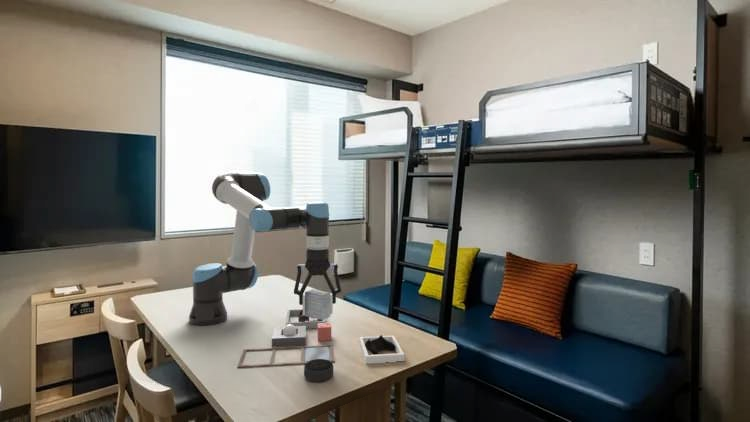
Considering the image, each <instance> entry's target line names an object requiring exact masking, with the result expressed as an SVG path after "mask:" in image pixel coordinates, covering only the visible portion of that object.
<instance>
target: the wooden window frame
mask: <svg viewBox="0 0 750 422" xmlns="http://www.w3.org/2000/svg"><path fill="white" fill-rule="evenodd" d="M295 349H296V350H297V349H300V352H301V354H300V357H301V358H300V361H294V362H293V361H292V362H274V361H275V355H276V351H278V350H279V351H280V350H295ZM259 351H261V352H262V351H271V354H270V355H271V356H270V361H269V363H259V364H258V363H257V364H245V365H244V364H243V363H244V359H245V356H246V353H247V352H259ZM315 359H325V360H328V361H330V362H332V364H333V363H335V360H336V359H335V354H334V349H333V344H324V345H323V344H322V345H320V344H319V345H297V346H278V347H264V348H262V347H261V348H244V349H243V350H242V353H241V356H240V358H239V362H238V364H237V369H243V368H245V369H246V368H247V369H248V368H259V367H260V368H261V367H262V368H263V367H279V366H294V365H295V366H297V365H305V364H306V363H307V362H309V361H311V360H315Z"/></svg>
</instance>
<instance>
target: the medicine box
mask: <svg viewBox="0 0 750 422" xmlns="http://www.w3.org/2000/svg"><path fill="white" fill-rule="evenodd" d="M330 293H331V291H330V292H329V291H324V290H319V289H314V288H313V289H309V290H307V291H304V294H305V316H307V317H309V318H311V317H312V318H311V319H320V320H324V319H325V320H326V319H328V318H330V317H331V314H330Z"/></svg>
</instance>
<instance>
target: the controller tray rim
mask: <svg viewBox="0 0 750 422" xmlns="http://www.w3.org/2000/svg"><path fill="white" fill-rule="evenodd" d="M380 336H381V335H379V336H378V335H377V336H359V338H358V339H359V340H358V341H359V348H360V350H361V354H362V356H363V359H364V363H365V365H368V364H370V365H373V364H386V362H389V363H397V362H396V361H404V362H405V353H404V350H402V348H401V346H400V344H399V342H398V340H397V338H396V337H395V335H382V337H383V338H384V339H386V340H387V341H390V342H391V343H393V344H394V345H395V350H396V351H395V350H394V351H395V352H396V353H384V354H382V353H381V354H379V353H378V354H379V355H371V354H369V353H368V351H367V350H366V347H365V343H366V342H367V341H368V340H369V339H370V341H372V340H375V339H378V338H379V337H380Z"/></svg>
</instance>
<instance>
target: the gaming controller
mask: <svg viewBox="0 0 750 422" xmlns="http://www.w3.org/2000/svg"><path fill="white" fill-rule="evenodd" d="M379 336H380V337H379V338H378V339H375V340H372V341H370V339H369V340H368V341H367V342H366V343H365V347H366V350H367V353H368V354H369V355H379V351H380V350H382V351H383V350H388V351H395V345H394V344H393V343H391V342H390V341H387V340H386V339H384V338H383V337H382V336H383V335H382V334H381V335H379ZM380 352H381V351H380Z"/></svg>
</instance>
